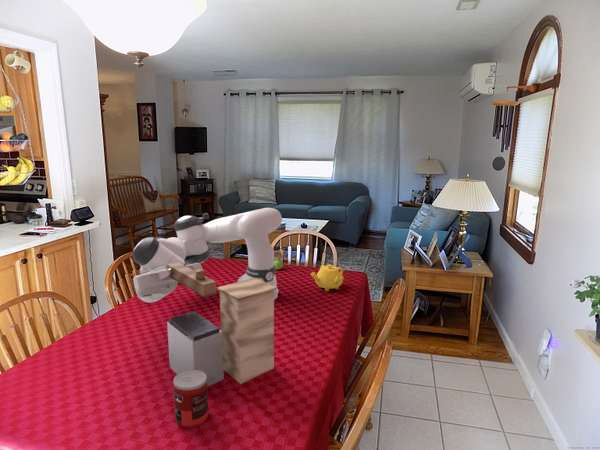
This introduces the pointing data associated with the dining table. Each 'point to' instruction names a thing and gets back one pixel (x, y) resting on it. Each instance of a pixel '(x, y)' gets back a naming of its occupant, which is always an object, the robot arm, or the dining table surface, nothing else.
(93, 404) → the dining table surface
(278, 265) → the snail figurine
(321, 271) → the teapot
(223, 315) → the shelf block
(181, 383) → the canned food
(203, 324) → the grey box
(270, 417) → the dining table surface
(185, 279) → the bar
